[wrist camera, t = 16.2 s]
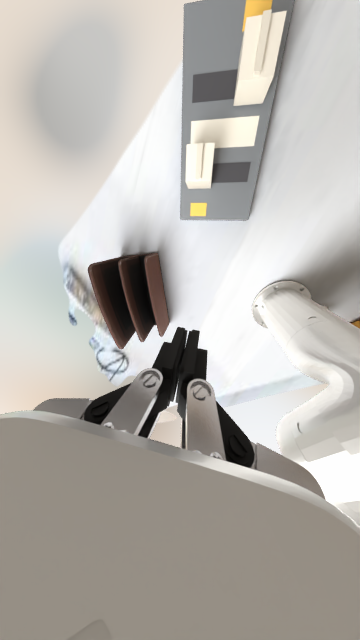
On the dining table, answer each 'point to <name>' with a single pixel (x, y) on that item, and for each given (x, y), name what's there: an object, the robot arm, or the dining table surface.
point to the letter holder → (130, 296)
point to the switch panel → (223, 106)
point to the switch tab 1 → (199, 165)
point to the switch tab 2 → (258, 57)
